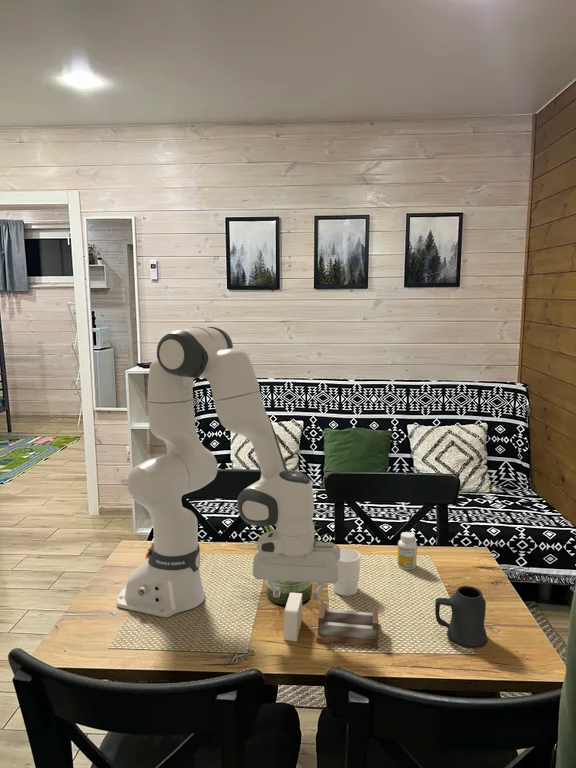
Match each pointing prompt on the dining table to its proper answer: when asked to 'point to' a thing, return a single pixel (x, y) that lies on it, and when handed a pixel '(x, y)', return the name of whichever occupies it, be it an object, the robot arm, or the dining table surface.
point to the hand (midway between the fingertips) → (296, 597)
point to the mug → (465, 617)
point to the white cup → (348, 572)
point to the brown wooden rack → (348, 627)
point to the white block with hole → (293, 616)
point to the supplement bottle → (407, 551)
